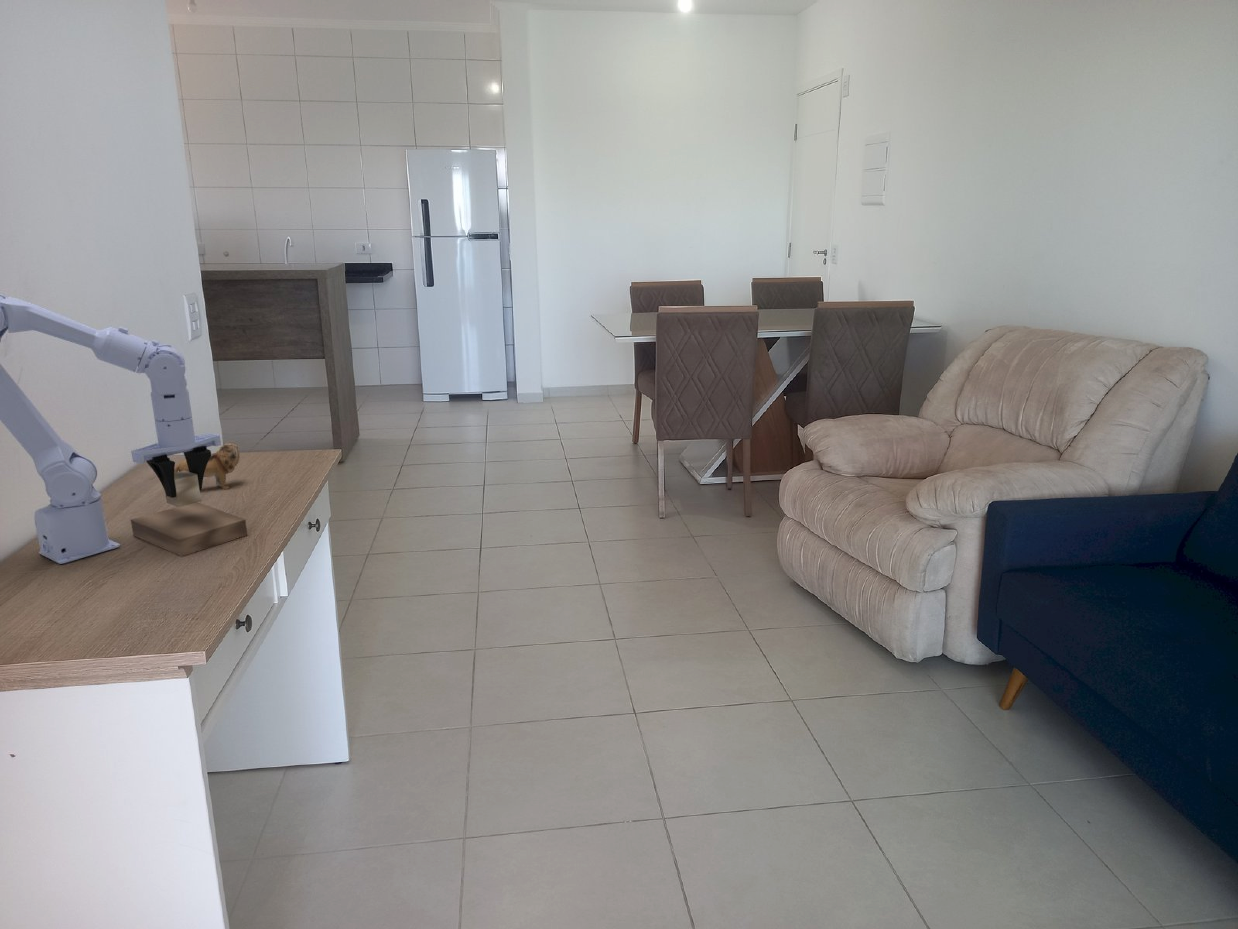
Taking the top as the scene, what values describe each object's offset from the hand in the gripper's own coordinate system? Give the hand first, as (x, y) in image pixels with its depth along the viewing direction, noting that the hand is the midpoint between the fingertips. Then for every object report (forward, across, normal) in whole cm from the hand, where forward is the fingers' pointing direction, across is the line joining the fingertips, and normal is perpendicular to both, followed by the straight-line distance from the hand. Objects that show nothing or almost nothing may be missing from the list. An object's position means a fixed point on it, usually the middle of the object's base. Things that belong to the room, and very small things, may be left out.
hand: (184, 492), depth 146 cm
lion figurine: (+8, -16, -23) cm, 29 cm away
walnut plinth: (+8, 0, 0) cm, 8 cm away
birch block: (+2, 0, -1) cm, 2 cm away
